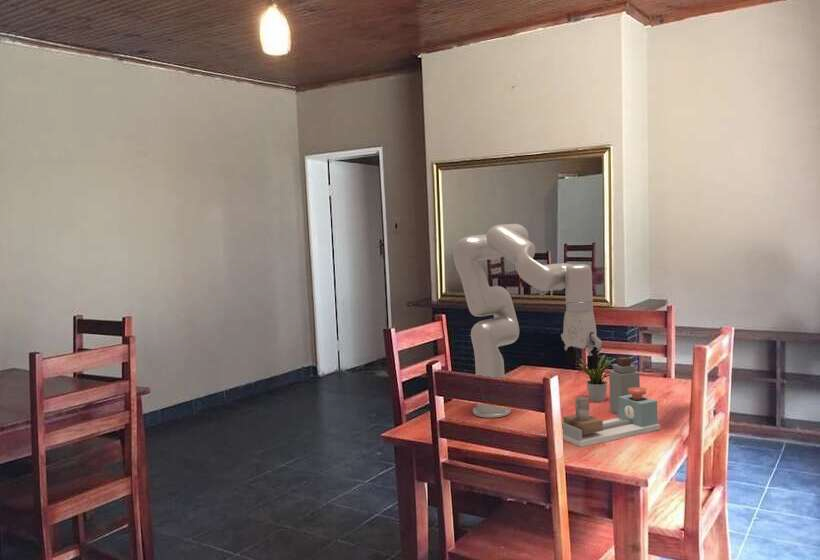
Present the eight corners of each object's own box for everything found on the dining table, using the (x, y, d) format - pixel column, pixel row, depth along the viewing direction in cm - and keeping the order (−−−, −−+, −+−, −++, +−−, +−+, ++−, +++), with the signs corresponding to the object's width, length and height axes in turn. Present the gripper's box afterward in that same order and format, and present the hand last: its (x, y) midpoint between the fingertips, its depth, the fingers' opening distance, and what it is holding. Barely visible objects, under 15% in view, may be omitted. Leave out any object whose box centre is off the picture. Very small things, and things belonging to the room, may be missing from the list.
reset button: (624, 398, 207) (624, 388, 207) (637, 395, 209) (637, 386, 209) (636, 402, 202) (636, 392, 202) (650, 399, 205) (649, 389, 204)
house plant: (617, 393, 244) (616, 348, 243) (625, 404, 231) (624, 356, 229) (576, 394, 246) (575, 350, 244) (582, 405, 232) (581, 358, 231)
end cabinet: (617, 419, 210) (617, 396, 209) (633, 415, 212) (633, 393, 212) (640, 427, 201) (640, 404, 200) (657, 423, 203) (657, 400, 203)
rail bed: (555, 435, 202) (554, 420, 201) (631, 419, 213) (631, 405, 213) (581, 447, 191) (580, 431, 190) (660, 429, 202) (659, 414, 202)
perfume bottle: (621, 416, 217) (620, 361, 215) (610, 411, 223) (608, 357, 222) (640, 414, 219) (639, 359, 217) (628, 408, 225) (626, 355, 224)
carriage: (563, 426, 201) (562, 396, 200) (582, 422, 204) (582, 393, 203) (583, 434, 193) (582, 403, 192) (602, 430, 195) (601, 400, 195)
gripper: (550, 306, 201) (553, 363, 203) (588, 311, 186) (590, 373, 187) (571, 303, 204) (573, 359, 206) (610, 308, 189) (612, 369, 190)
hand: (581, 366), depth 196 cm, fingers open, 9 cm apart
